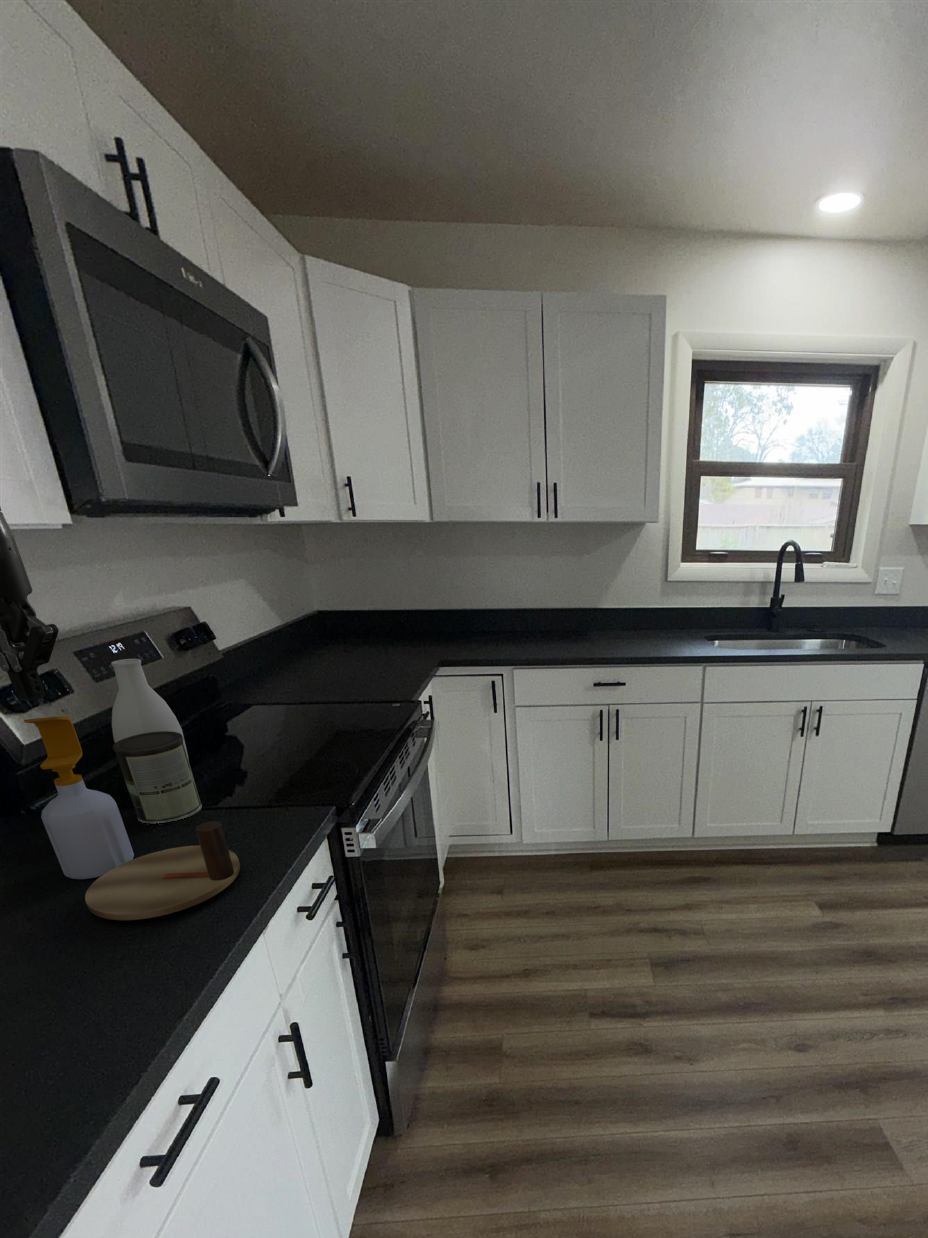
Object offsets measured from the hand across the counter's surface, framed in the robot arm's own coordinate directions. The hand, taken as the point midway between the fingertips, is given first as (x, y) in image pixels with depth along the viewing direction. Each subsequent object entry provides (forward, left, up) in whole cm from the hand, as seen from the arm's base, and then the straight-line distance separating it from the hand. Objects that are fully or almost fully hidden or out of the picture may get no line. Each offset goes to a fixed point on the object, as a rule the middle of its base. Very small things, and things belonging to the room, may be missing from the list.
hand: (32, 699), depth 82 cm
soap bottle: (-7, +6, -29) cm, 31 cm away
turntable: (+9, +2, -28) cm, 29 cm away
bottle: (-21, +35, -29) cm, 50 cm away
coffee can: (-11, +25, -29) cm, 40 cm away
